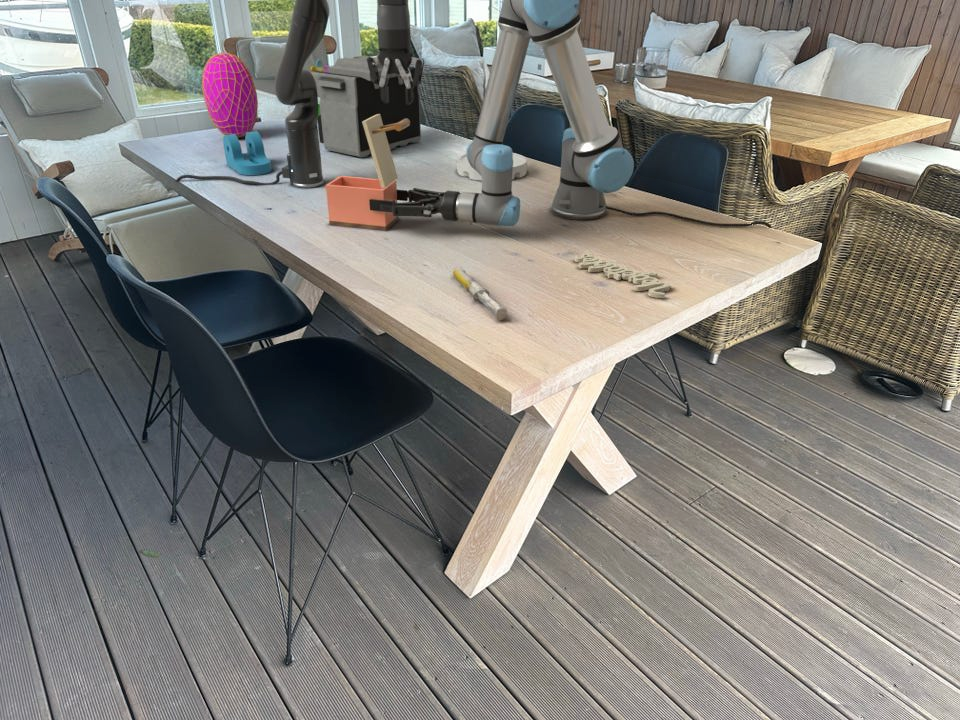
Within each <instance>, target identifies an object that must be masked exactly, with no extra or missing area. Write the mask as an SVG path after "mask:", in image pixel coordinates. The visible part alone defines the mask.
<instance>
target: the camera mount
mask: <svg viewBox="0 0 960 720" xmlns="http://www.w3.org/2000/svg"><path fill="white" fill-rule="evenodd" d="M244 137H245V146H246V152H243V151H242V150H243V149H242V146H241V142H240V140H239V138H237V136H236V135H235V134H230V135H224V134H223V138H222V140H223V141H222V143H223V149H224V150H223V151H224V156H225V161H226V165H227V166H228V167H230V168H231V169H232V170H234V171H236V172H237V173H238V174H239V175H244V176H260V175H265V174H268V173H271V172H272V164H271V159H270V158H268V157H267V156H266V153H265V145H264V141H263V139H262V136H261V134H260V132H258V131H251V132H247V133H246V136H244Z"/></svg>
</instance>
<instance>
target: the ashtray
mask: <svg viewBox="0 0 960 720" xmlns="http://www.w3.org/2000/svg"><path fill="white" fill-rule="evenodd" d="M456 161H457V162H456V163H457V164H456V165H457V169H456V170H457V174H458V175H460V176H461V177H464V178H465V177H467V178H468V179H470V180H473V181H474V180H475V181H481V182H482V177H481V175H480V174H479V173H478V172H477V171H476V170H475V169H473V168H472V167H471V165H470V164H469V162H468V160H467V157H466V153H463V154H460V155H459V156H458V157H457V158H456ZM527 172H528V159H527V157H526V156H524V155H522V154H519V153H516V152H513V170H512V181H513V180H515V178H516V179H517V178H519V179H520V178H523V177H524V176H526V175H527Z"/></svg>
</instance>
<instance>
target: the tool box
mask: <svg viewBox="0 0 960 720" xmlns="http://www.w3.org/2000/svg"><path fill="white" fill-rule="evenodd" d="M368 57H369V56H367V55H356V56H353V57H350V58H349V57H343V58H342V57H341V58H337V59H336V60H335V63H334V64H333V65H330V66H331V67H329V72H321V71H313V72H311V73H312V75H313V76H314V79H315V81H316V85H317V94H318V96H319V97H318V99H319V104H320V111H321V115H319V116H318V121H317V127H318V137H319V144H323V146H324V149H325V150H327V151H330V152H335V153H340V154H344V155H348V156H353V157H357V158H362V159H363V158H366V157H367V158H368V157H369V155H371V150H370V147H369V144H368V140H367V137H366V133H365V130H364V127H363V123H362V121H364V120H366V119H368V118H370V117H372V116H374V115H376V114H380V116H381V119H382V123H383V126H385V125H390V124H394V123H398V122H400V121H402V120H403V119H406V118H407V119H409V120H410V125H409V126H408V127H406V128H404V129H403V130H401V131H397V130H396V129H394V130H389V131H385V133H386V137H387V141H388V144H389V148H390V151H391V150H395V149H396V148H397V147H405V146H407V145H408V144H416V143H418V142H419V141H421V137H422V128H421V97H420V92H419V91H420V89H419V85H417V86H415V87H414V88H413V94H414V100H413V102H412V103H411V104H410V105H406V94H405V89H406V86H405V83H404V80H403V79H402V77H401V75H400V74H396V73H393V74H391V75H390V77H389V80H388V83H387V86H388V89H389V103H387V104H385V103H383V101H382V100H381V91H380V86H379V85H377V84H373V83H372V79H371V75H370V71H369V67H368V63H367V58H368ZM377 68H378V72H379V76H380V79H381V73H382V70H383V66H382V65H381V63H380V62H379V61H378V65H377ZM408 68H409V70H410V73H411V78H412V80H413V79H414V72H415V68H414V66H411V65H410V66H409V67H408Z"/></svg>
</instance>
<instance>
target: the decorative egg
mask: <svg viewBox="0 0 960 720" xmlns="http://www.w3.org/2000/svg"><path fill="white" fill-rule="evenodd" d="M201 79H202V80H201V81H202V85H201V86H202V87H201V88H202V89H201V90H202V96H203V101H204V103H205V107H206V110H207V113H208V115H209V118H210V120H211V122H212V123H213V125H214V126H215V127H216V129H217V130H218V131H219V133H221V135H223V136H224V135H230V134H235V135H236V136H237V138H238V139H241V138H244V137H246V133H247V132H253V129H254V127H255V125H256V122H257V118H258V109H259V106H258V105H259V101H258V93H257V89H256V86H255V83H254V79H253V76H252V73H251V72H250V69H249V68H248V67H247V65H246V64H245V62H244V61H243V60H242V59H241V58H240V57H239V56H238V55H235V54H232V53H230V52H219V53H216V54H213V55H211V56H210V57H209V59H207V61H206V63H205V66H204V68H203V72H202V78H201Z"/></svg>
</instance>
